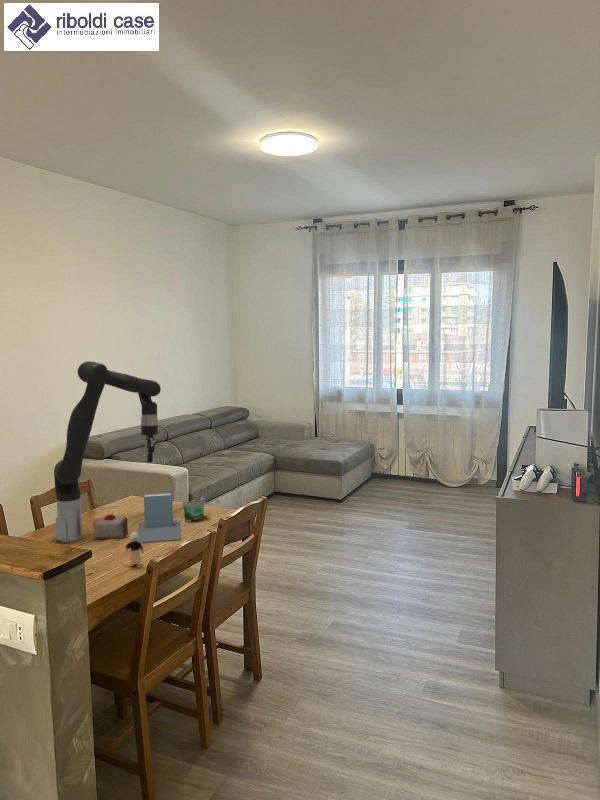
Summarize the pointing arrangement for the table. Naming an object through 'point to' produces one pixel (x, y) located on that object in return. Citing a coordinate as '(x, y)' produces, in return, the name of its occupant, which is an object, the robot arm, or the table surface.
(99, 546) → the table surface
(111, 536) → the food item
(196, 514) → the food container
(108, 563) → the table surface
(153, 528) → the mat
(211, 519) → the table surface
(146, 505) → the book
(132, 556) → the grandmother figurine
